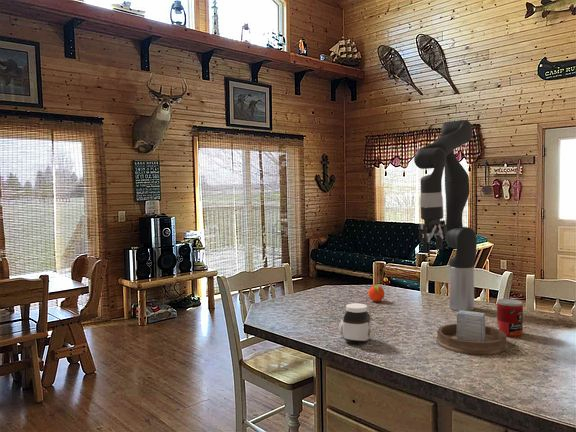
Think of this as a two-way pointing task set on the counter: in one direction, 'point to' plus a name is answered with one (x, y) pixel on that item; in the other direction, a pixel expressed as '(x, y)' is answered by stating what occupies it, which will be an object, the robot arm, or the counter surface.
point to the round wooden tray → (490, 346)
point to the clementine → (376, 293)
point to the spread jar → (356, 324)
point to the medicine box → (471, 326)
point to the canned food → (510, 317)
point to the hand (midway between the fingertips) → (433, 251)
